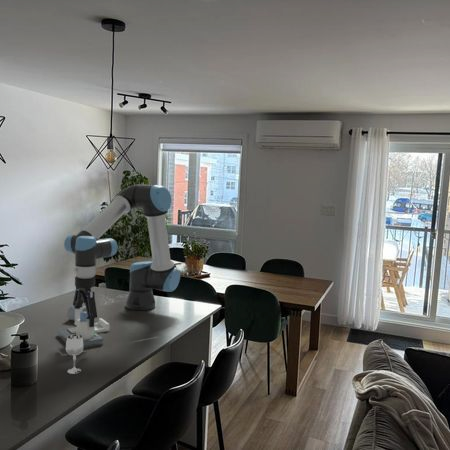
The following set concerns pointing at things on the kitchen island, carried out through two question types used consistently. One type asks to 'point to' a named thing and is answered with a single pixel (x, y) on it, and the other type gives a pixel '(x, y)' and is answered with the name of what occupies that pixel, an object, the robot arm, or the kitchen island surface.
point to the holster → (101, 326)
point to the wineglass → (74, 350)
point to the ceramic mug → (72, 312)
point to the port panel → (87, 343)
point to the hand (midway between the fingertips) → (84, 329)
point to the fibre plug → (82, 326)
